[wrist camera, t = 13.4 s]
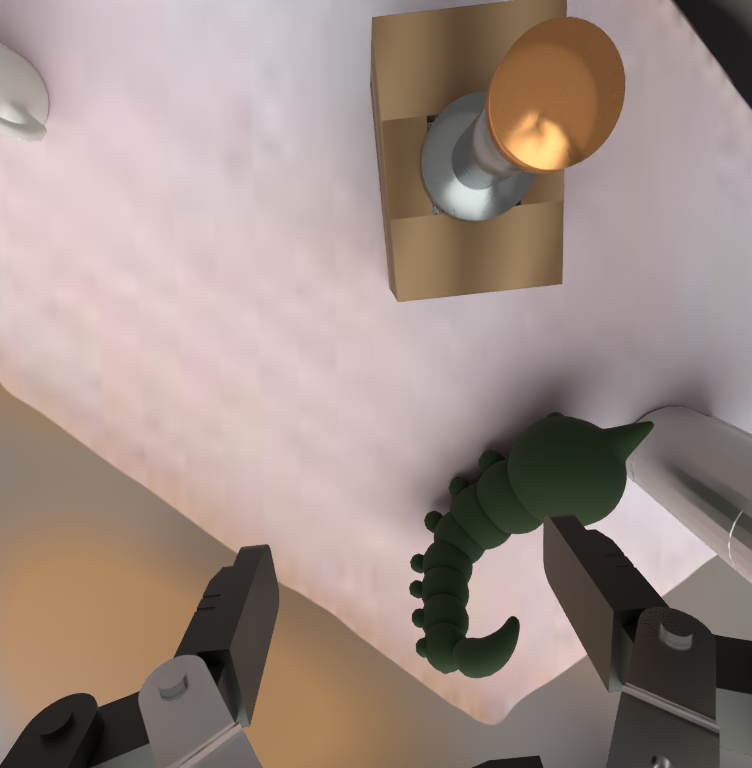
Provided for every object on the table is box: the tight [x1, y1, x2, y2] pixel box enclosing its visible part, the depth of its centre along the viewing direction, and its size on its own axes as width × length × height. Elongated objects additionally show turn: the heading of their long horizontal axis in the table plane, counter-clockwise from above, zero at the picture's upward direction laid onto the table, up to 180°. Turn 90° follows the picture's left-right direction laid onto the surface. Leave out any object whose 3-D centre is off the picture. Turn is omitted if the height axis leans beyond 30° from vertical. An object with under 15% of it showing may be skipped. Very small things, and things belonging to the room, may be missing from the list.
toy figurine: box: [409, 412, 654, 678], centre depth 37 cm, size 9×19×25 cm
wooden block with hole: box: [370, 0, 567, 302], centre depth 33 cm, size 11×16×11 cm
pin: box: [420, 17, 625, 222], centre depth 25 cm, size 7×7×20 cm
